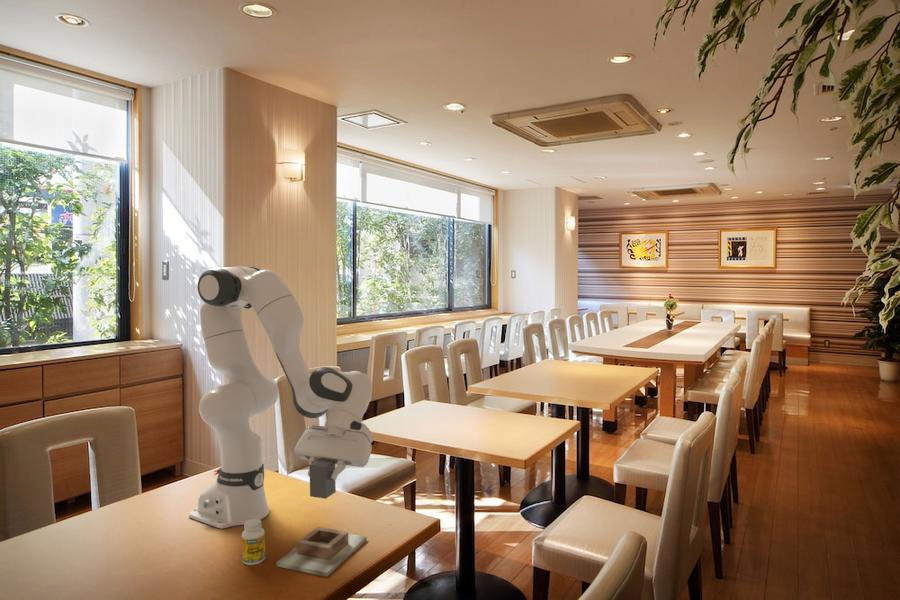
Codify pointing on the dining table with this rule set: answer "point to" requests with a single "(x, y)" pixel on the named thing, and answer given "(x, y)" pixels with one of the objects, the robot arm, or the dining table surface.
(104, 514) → the dining table surface
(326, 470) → the plug block
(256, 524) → the supplement bottle
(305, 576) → the dining table surface
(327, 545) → the socket holder
